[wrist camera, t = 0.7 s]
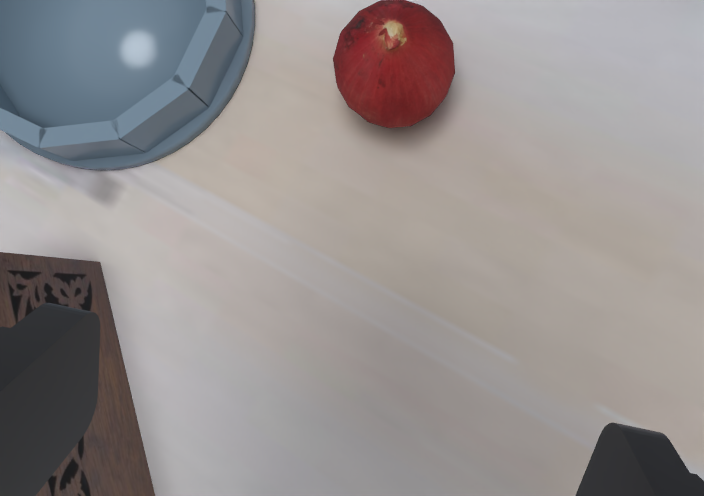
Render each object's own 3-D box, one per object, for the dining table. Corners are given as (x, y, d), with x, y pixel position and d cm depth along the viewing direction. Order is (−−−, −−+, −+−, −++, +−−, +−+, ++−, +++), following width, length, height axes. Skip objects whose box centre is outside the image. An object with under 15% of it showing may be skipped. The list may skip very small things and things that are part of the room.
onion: (322, 98, 33) (292, 37, 25) (390, 18, 33) (381, -68, 25) (402, 164, 33) (397, 123, 25) (472, 83, 32) (490, 14, 25)
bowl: (153, -171, 36) (120, -229, 32) (313, 53, 34) (299, 21, 30) (-74, -1, 36) (-134, -36, 32) (68, 228, 34) (23, 220, 30)
